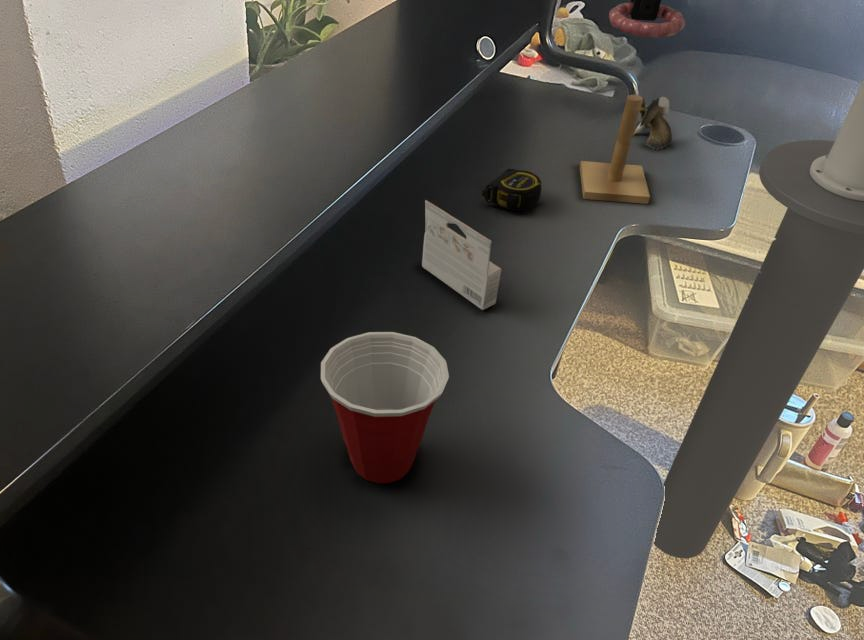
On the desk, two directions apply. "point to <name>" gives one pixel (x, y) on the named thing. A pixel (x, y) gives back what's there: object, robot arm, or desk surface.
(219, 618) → the desk surface
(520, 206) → the tape measure
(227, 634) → the desk surface
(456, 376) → the desk surface
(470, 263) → the ink cartridge box
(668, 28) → the ring
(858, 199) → the robot arm
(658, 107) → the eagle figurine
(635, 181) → the stand
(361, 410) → the plastic cup
